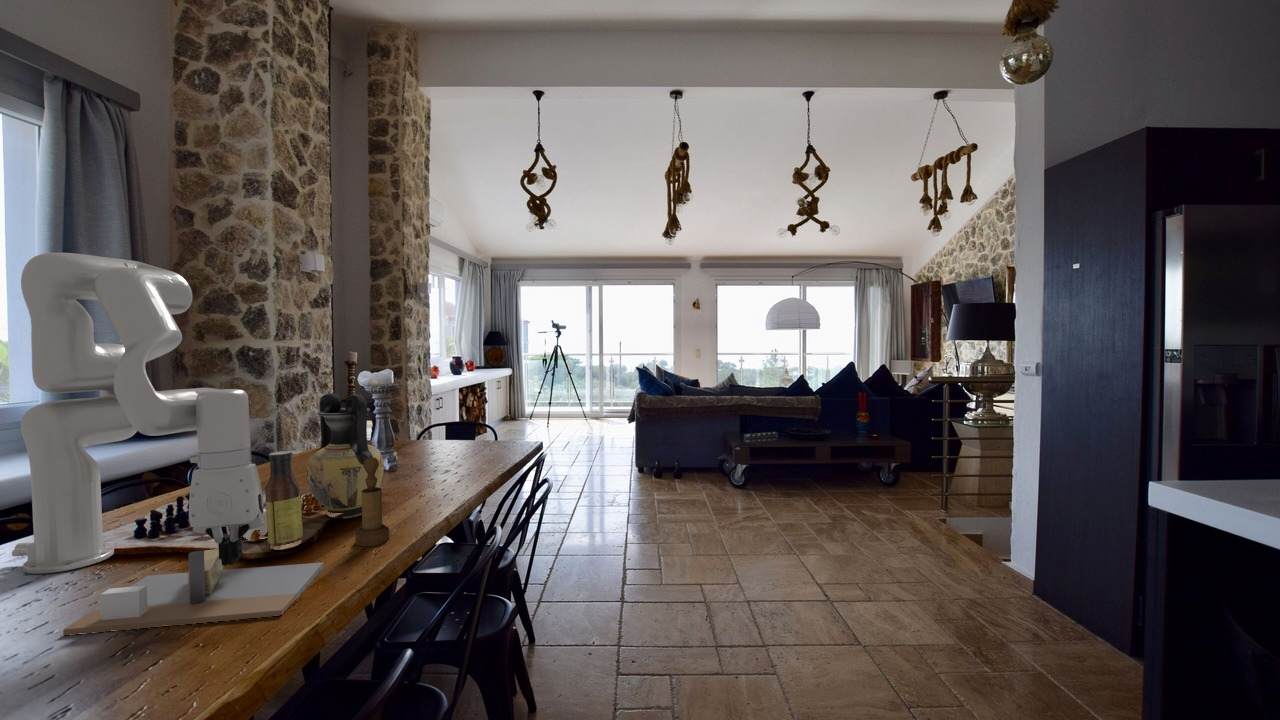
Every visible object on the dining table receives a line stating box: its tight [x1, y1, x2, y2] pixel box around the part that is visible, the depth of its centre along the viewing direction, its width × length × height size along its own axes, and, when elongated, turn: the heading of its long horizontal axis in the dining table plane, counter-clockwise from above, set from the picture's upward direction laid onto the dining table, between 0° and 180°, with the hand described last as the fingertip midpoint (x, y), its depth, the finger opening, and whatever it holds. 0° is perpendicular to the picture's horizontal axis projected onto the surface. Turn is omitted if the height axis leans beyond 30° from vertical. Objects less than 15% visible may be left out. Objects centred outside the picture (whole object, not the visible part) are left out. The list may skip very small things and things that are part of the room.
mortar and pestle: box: [354, 457, 390, 547], centre depth 123 cm, size 7×6×18 cm
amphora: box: [306, 392, 385, 519], centre depth 142 cm, size 18×17×30 cm
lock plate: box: [62, 550, 325, 635], centre depth 97 cm, size 29×20×9 cm
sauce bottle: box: [264, 450, 304, 546], centre depth 120 cm, size 7×6×20 cm
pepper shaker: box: [243, 508, 267, 540], centre depth 124 cm, size 4×4×10 cm
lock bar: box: [187, 548, 224, 597], centre depth 99 cm, size 11×3×4 cm, turn 27°
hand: (231, 562), depth 102 cm, fingers closed
